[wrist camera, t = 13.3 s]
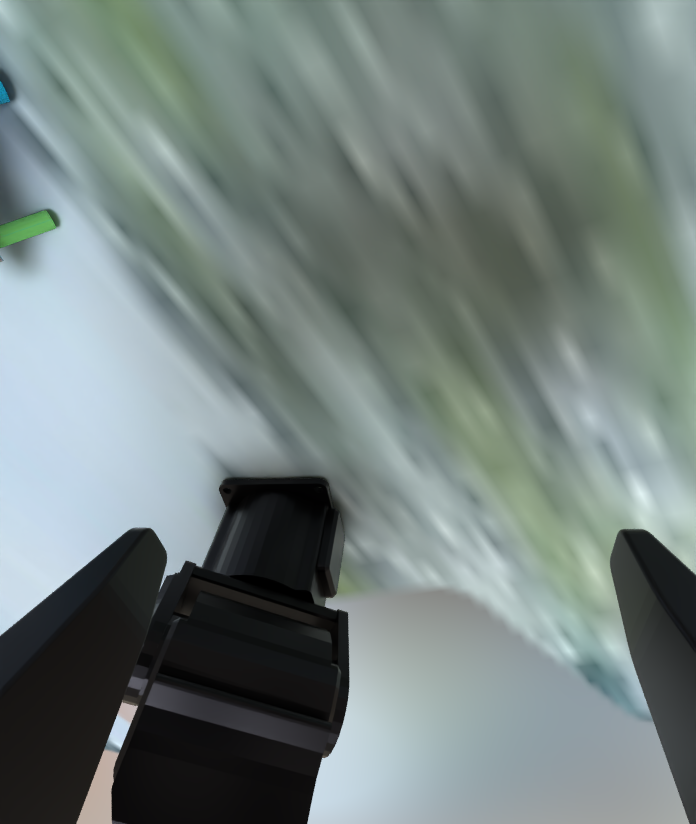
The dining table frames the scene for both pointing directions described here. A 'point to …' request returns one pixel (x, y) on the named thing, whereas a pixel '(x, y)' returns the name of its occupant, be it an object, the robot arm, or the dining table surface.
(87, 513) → the dining table surface
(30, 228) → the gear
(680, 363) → the dining table surface
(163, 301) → the dining table surface
